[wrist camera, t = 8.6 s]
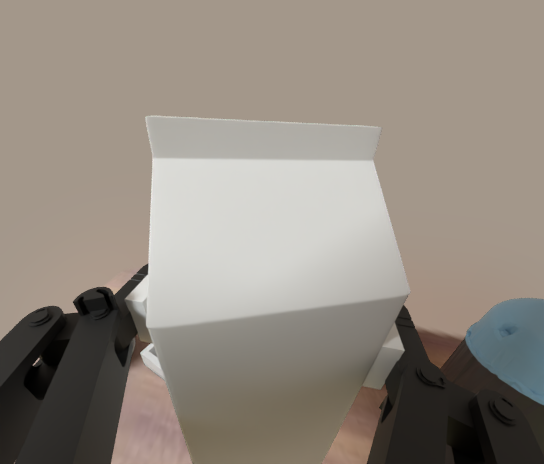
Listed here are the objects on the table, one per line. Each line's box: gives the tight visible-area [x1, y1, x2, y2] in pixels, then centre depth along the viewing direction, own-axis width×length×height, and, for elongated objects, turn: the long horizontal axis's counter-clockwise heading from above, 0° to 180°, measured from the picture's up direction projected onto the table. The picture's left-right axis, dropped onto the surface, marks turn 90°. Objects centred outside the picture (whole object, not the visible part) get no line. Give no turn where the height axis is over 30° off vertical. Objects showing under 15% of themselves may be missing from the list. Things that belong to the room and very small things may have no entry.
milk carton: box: [145, 116, 410, 464], centre depth 12 cm, size 7×7×19 cm
